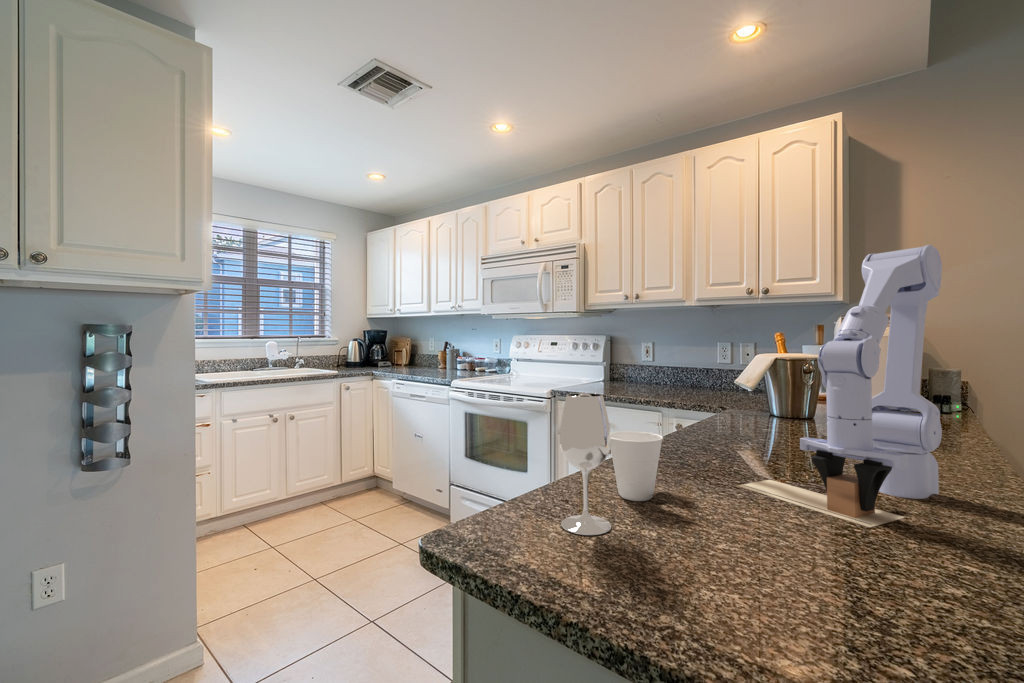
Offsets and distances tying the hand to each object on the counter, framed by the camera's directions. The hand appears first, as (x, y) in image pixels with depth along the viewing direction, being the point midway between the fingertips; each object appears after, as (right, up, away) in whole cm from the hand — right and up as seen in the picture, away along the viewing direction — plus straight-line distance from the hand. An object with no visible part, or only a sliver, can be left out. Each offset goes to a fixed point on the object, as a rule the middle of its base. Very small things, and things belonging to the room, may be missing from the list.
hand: (850, 505), depth 72 cm
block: (+2, -1, +1) cm, 2 cm away
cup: (-30, -3, +13) cm, 33 cm away
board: (-2, -3, +5) cm, 6 cm away
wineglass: (-41, -3, -1) cm, 41 cm away
